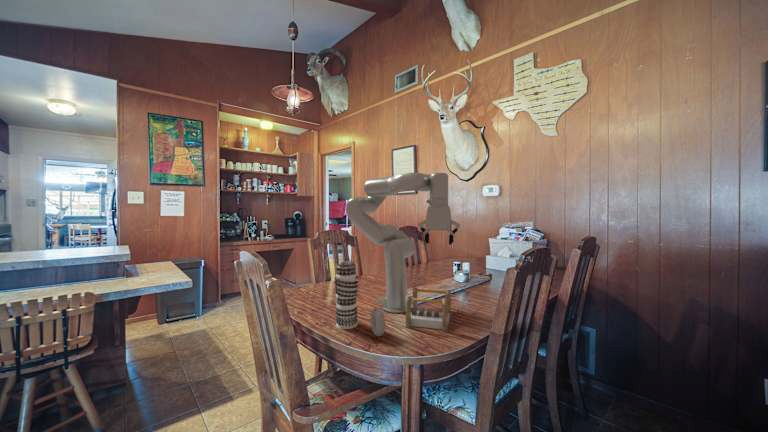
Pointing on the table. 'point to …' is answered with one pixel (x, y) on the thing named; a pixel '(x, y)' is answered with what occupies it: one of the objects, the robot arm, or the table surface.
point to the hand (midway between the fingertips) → (438, 243)
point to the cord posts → (445, 309)
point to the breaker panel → (427, 318)
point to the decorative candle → (346, 295)
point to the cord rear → (431, 291)
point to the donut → (377, 322)
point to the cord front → (426, 300)
